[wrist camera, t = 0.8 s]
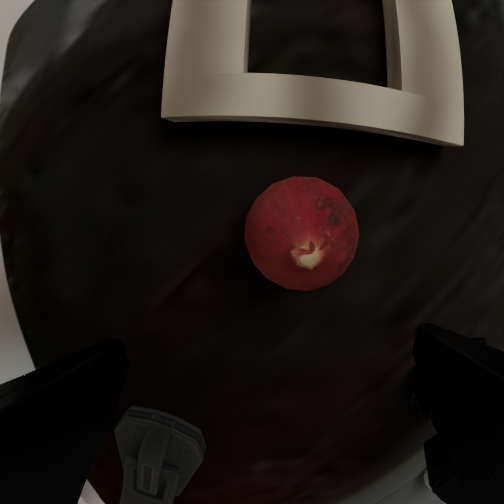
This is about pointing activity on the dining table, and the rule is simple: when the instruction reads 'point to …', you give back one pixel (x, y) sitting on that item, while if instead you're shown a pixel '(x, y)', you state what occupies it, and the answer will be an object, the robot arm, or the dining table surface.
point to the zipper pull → (156, 455)
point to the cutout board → (316, 88)
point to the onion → (301, 233)
